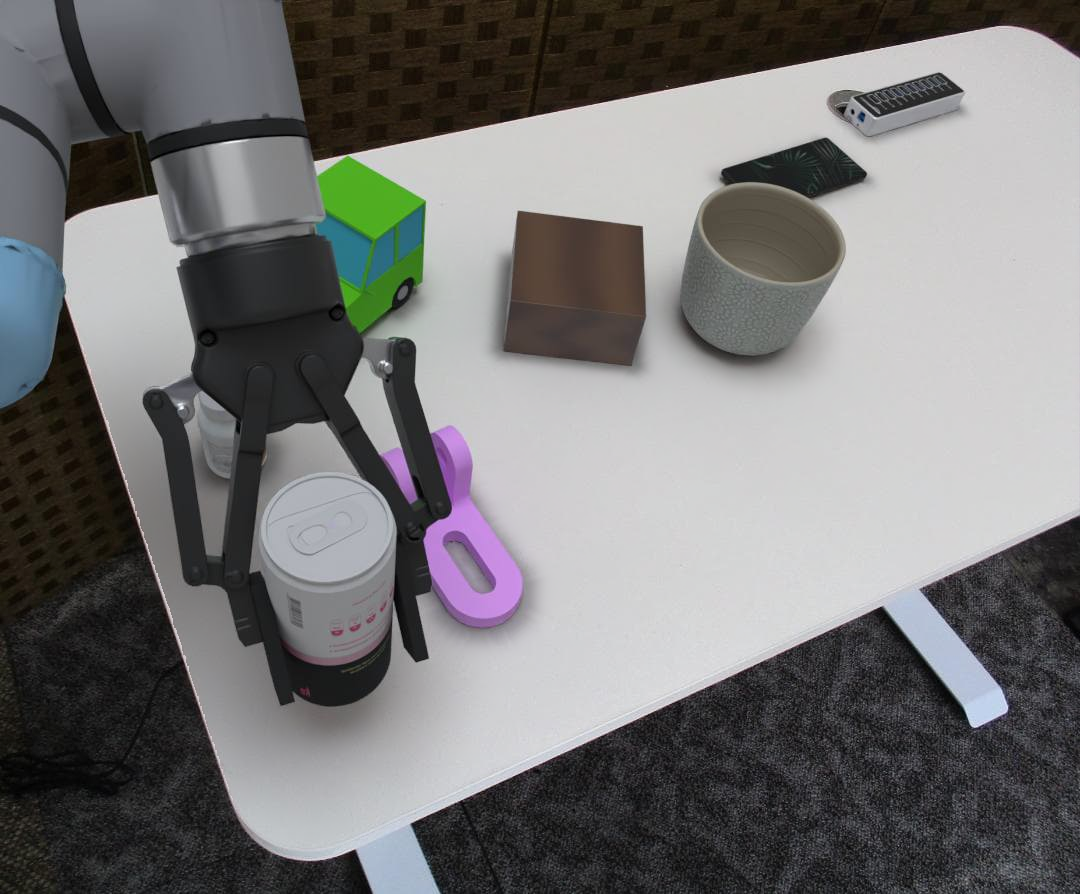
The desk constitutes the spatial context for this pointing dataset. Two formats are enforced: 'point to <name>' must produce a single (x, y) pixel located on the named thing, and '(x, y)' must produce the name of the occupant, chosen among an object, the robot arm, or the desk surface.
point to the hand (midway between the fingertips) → (351, 672)
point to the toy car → (372, 238)
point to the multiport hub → (903, 103)
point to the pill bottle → (217, 435)
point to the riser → (575, 289)
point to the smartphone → (800, 169)
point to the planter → (758, 266)
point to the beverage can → (331, 584)
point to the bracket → (462, 538)
